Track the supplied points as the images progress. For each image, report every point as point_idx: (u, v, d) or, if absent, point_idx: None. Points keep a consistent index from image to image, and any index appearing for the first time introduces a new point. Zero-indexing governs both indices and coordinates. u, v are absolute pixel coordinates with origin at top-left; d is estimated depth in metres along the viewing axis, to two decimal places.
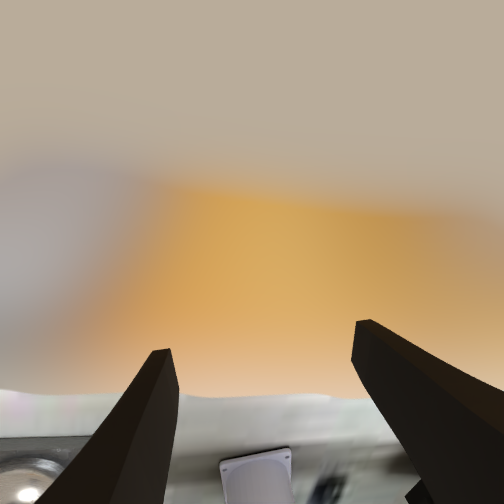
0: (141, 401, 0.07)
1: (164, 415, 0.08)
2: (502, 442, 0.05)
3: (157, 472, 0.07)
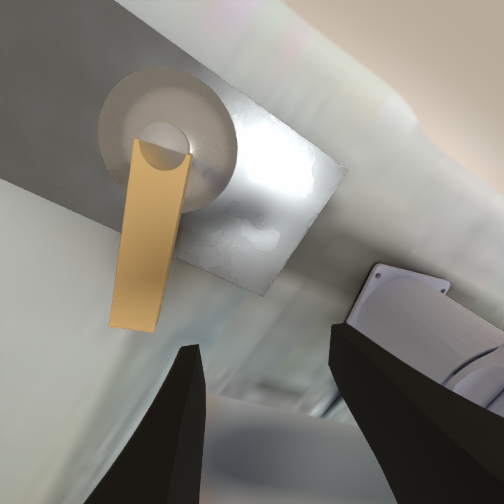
0: (180, 395, 0.07)
1: (197, 409, 0.08)
2: (457, 452, 0.05)
3: (195, 465, 0.07)
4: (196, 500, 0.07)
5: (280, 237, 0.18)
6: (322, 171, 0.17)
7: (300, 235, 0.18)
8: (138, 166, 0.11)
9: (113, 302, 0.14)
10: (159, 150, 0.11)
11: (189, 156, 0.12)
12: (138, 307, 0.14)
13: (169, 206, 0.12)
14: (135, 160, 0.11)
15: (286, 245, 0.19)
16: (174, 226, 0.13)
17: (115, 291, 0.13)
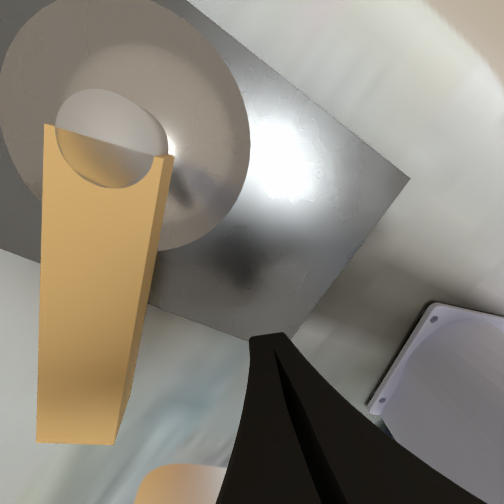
0: (273, 379, 0.07)
1: None
2: (333, 480, 0.05)
3: None
4: None
5: (307, 275, 0.13)
6: (373, 180, 0.11)
7: (335, 271, 0.13)
8: (59, 180, 0.06)
9: (39, 409, 0.08)
10: (99, 149, 0.06)
11: (161, 160, 0.06)
12: (84, 413, 0.08)
13: (127, 253, 0.07)
14: (51, 169, 0.06)
15: (315, 285, 0.13)
16: (138, 286, 0.07)
17: (40, 392, 0.08)
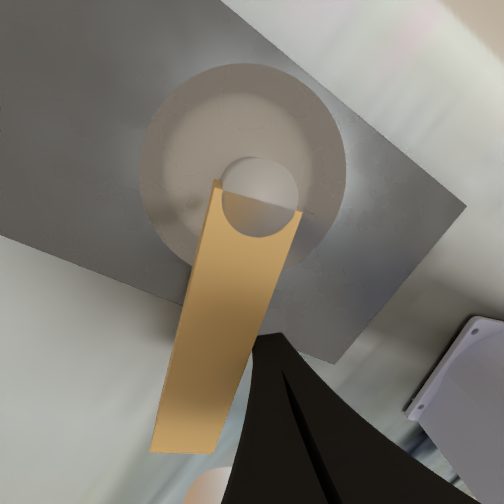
0: (276, 379, 0.07)
1: None
2: (328, 481, 0.05)
3: None
4: None
5: (366, 293, 0.14)
6: (433, 208, 0.12)
7: (392, 290, 0.14)
8: (216, 232, 0.07)
9: (158, 422, 0.09)
10: (253, 206, 0.07)
11: (299, 213, 0.07)
12: (194, 426, 0.09)
13: (258, 290, 0.07)
14: (213, 223, 0.07)
15: (372, 302, 0.14)
16: (261, 317, 0.08)
17: (162, 408, 0.09)
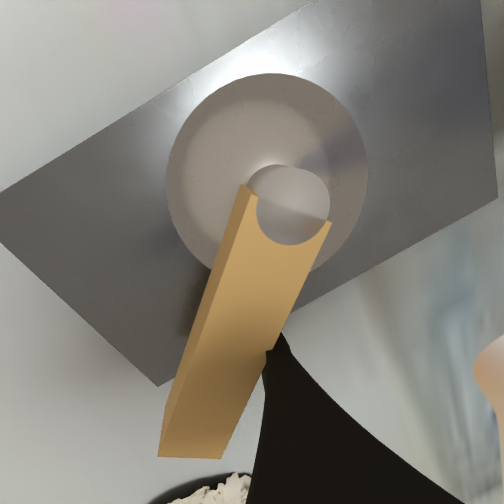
0: (291, 376, 0.07)
1: None
2: (318, 483, 0.05)
3: None
4: None
5: (458, 117, 0.11)
6: None
7: (481, 81, 0.10)
8: (247, 238, 0.07)
9: (169, 426, 0.09)
10: (286, 214, 0.07)
11: (329, 223, 0.07)
12: (205, 431, 0.09)
13: (281, 296, 0.08)
14: (245, 229, 0.07)
15: (474, 115, 0.11)
16: (282, 323, 0.08)
17: (175, 412, 0.09)
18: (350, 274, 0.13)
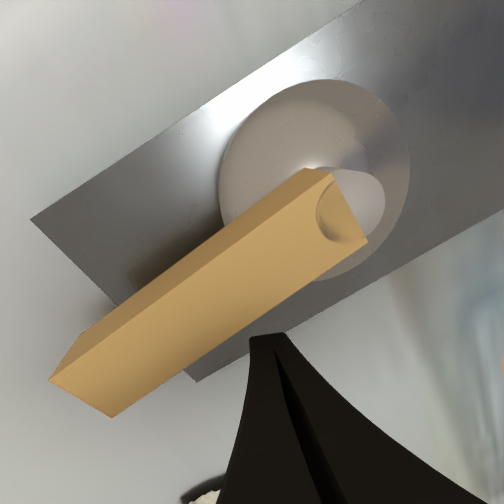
0: (273, 379, 0.07)
1: None
2: (332, 480, 0.05)
3: None
4: None
5: (494, 113, 0.11)
6: None
7: None
8: (301, 208, 0.07)
9: (89, 352, 0.07)
10: (342, 210, 0.07)
11: (364, 241, 0.07)
12: (121, 377, 0.08)
13: (288, 280, 0.07)
14: (305, 199, 0.07)
15: None
16: (270, 306, 0.08)
17: (108, 339, 0.07)
18: (383, 271, 0.13)
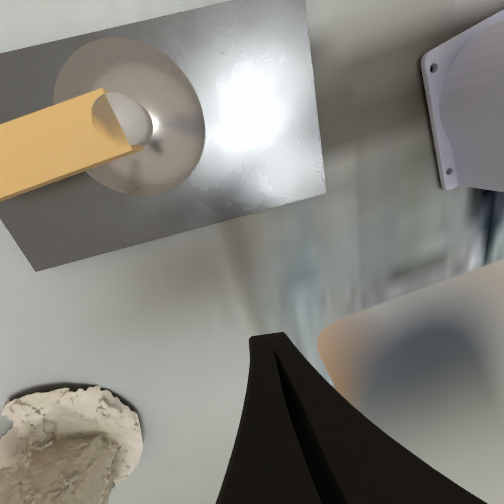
0: (273, 379, 0.07)
1: None
2: (333, 480, 0.05)
3: None
4: None
5: (295, 123, 0.16)
6: (278, 15, 0.13)
7: (312, 102, 0.15)
8: (80, 106, 0.10)
9: None
10: (111, 118, 0.10)
11: (131, 149, 0.11)
12: None
13: (70, 159, 0.11)
14: (82, 100, 0.10)
15: (307, 125, 0.16)
16: (56, 175, 0.11)
17: None
18: (209, 220, 0.17)
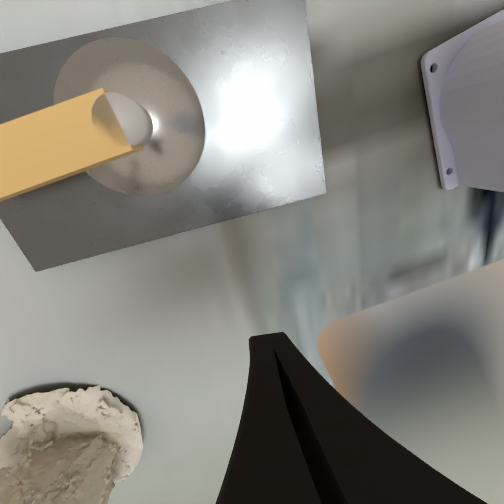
0: (273, 379, 0.07)
1: None
2: (333, 480, 0.05)
3: None
4: None
5: (295, 123, 0.16)
6: (278, 15, 0.13)
7: (312, 102, 0.15)
8: (80, 106, 0.10)
9: None
10: (111, 118, 0.10)
11: (131, 149, 0.11)
12: None
13: (70, 159, 0.11)
14: (82, 100, 0.10)
15: (307, 125, 0.16)
16: (56, 175, 0.11)
17: None
18: (209, 220, 0.17)
